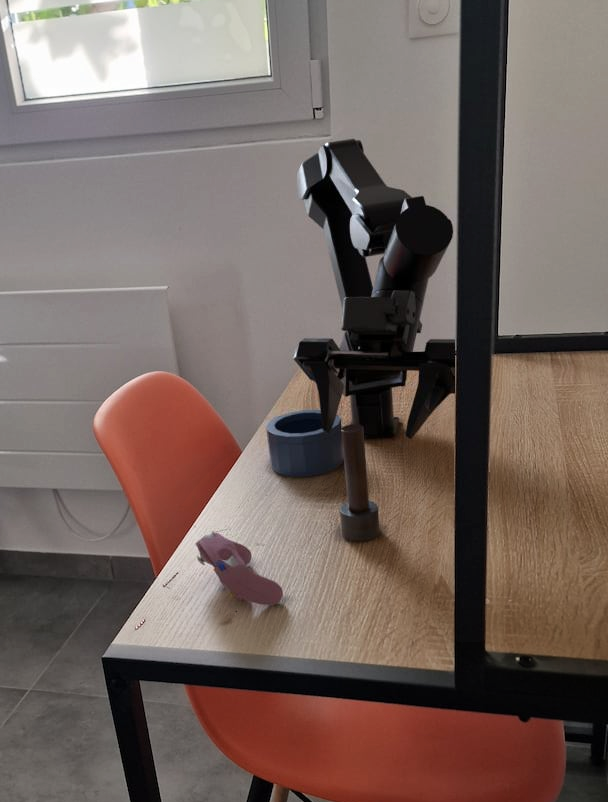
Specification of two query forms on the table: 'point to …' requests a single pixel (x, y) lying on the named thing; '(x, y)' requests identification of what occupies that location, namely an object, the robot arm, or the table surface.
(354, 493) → the brown peg with base
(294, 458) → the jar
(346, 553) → the table surface
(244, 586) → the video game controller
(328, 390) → the robot arm
